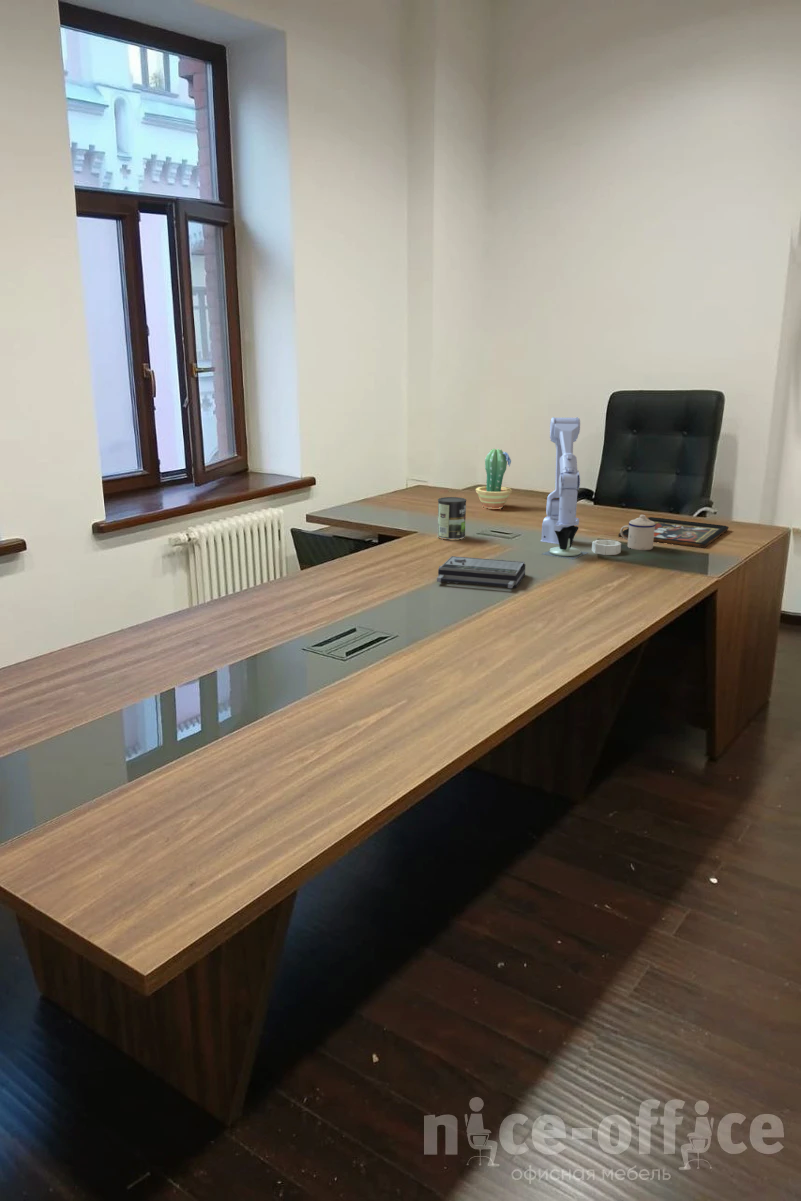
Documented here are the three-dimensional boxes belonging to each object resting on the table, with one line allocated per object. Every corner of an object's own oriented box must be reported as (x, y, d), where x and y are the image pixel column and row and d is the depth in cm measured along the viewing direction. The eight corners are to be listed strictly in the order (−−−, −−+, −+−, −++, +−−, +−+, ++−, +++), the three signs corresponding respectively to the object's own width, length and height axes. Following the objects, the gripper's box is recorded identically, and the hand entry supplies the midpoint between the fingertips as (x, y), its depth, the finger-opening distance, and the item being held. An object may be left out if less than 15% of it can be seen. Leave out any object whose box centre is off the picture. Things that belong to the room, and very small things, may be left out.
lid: (544, 553, 303) (544, 539, 301) (558, 547, 311) (558, 533, 309) (572, 557, 297) (573, 543, 296) (585, 551, 305) (586, 538, 304)
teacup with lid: (656, 546, 315) (659, 514, 312) (649, 552, 308) (652, 518, 305) (623, 542, 321) (625, 510, 318) (615, 547, 314) (617, 514, 311)
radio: (525, 559, 278) (514, 575, 259) (525, 575, 279) (513, 593, 261) (449, 553, 284) (433, 568, 266) (449, 569, 286) (432, 585, 268)
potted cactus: (501, 512, 372) (503, 452, 365) (468, 508, 380) (470, 449, 373) (517, 506, 385) (520, 448, 377) (485, 503, 393) (487, 445, 385)
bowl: (588, 553, 306) (588, 543, 305) (599, 548, 313) (600, 538, 312) (612, 557, 301) (613, 547, 300) (623, 552, 308) (624, 542, 307)
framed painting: (637, 521, 359) (637, 514, 358) (729, 530, 345) (730, 523, 344) (615, 541, 326) (616, 533, 326) (716, 553, 312) (717, 545, 311)
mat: (540, 555, 303) (540, 554, 303) (557, 548, 312) (557, 547, 312) (573, 560, 296) (573, 559, 296) (588, 553, 305) (589, 552, 305)
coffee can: (468, 535, 331) (469, 497, 327) (461, 541, 322) (462, 502, 318) (441, 533, 334) (442, 496, 330) (433, 539, 325) (434, 500, 321)
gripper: (568, 513, 292) (566, 554, 296) (588, 506, 303) (585, 545, 307) (549, 511, 296) (547, 550, 300) (569, 504, 307) (566, 542, 311)
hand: (565, 548), depth 303 cm, fingers closed on lid, 3 cm apart
